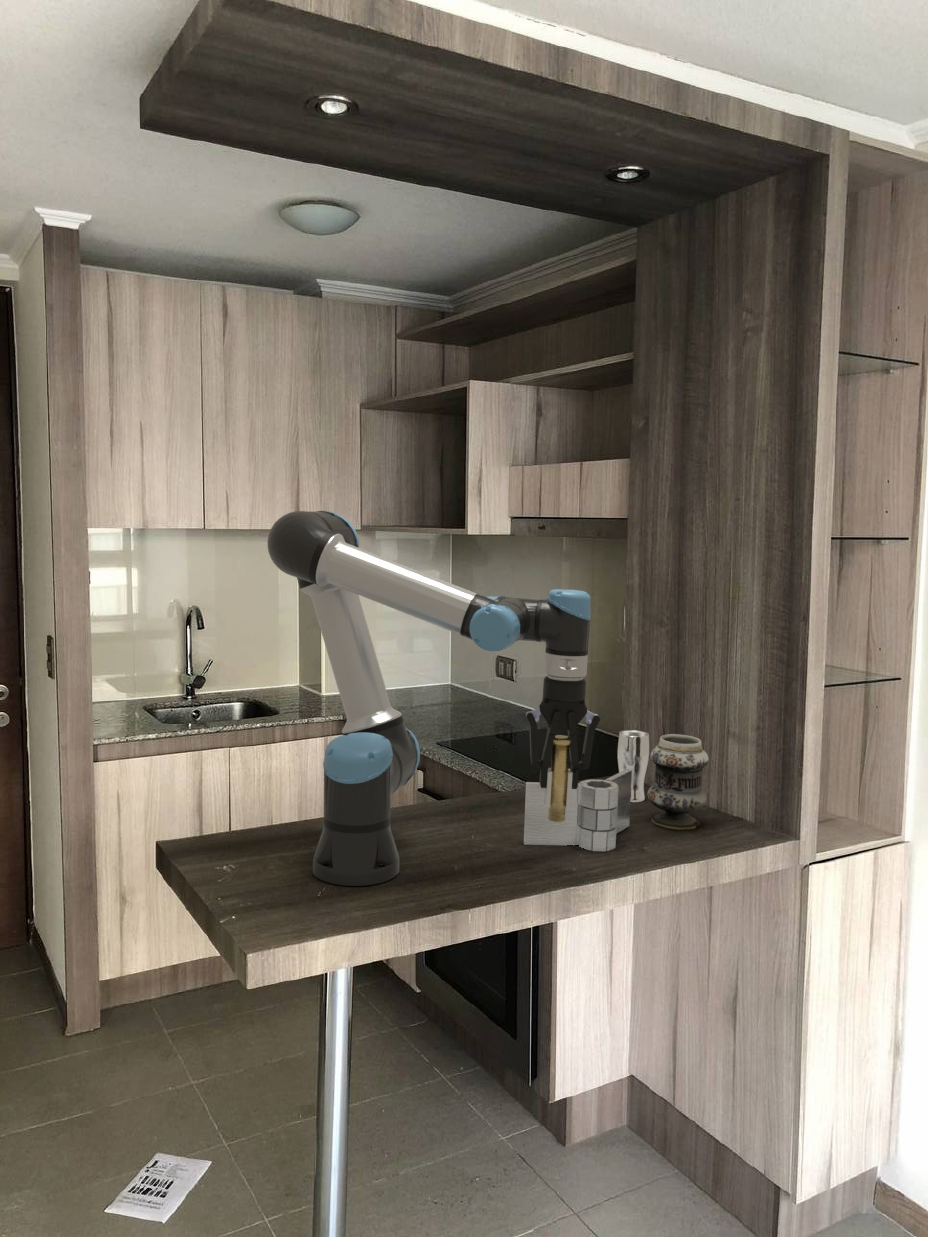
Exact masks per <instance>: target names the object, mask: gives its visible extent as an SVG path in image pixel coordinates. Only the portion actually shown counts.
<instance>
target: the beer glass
mask: <svg viewBox="0 0 928 1237" xmlns="http://www.w3.org/2000/svg"><path fill="white" fill-rule="evenodd" d="M649 736H650V734H649V732H646V731H642V730H633V729H632V730H629V729H628V730H626V729H625V730H621V731H619V736H618V743H617V764H618V773H620V772H622V771H624V770H626V769H627V770H632V778H631V798H630V803H642V802H643V801H645V798H646V797H645V789H644V788H645V787H644V785H645V776H646V772H647V767H648V764H649V760H650V759H649V757H650V737H649Z"/></svg>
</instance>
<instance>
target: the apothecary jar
mask: <svg viewBox="0 0 928 1237" xmlns="http://www.w3.org/2000/svg"><path fill="white" fill-rule="evenodd" d="M708 755H709V754H707V752H706V751H705V750H704V749H703V746H702V740H701V739H700V738H698V737H695V736H692V735H687V734H678V733H670V734H669V733H668V734H664V735H661V736H660V738H659V742H658V744H657V745H656V746H654V747H653V749H651V752H650V759H651V761H652V762H653V763H654V764H655V774H654V780H653V781H654V782H653V784H652V785H650V787H649V788H648V790H647V798H648V800H649V802H650V803H651V804H652V805H653V806H655V807H656V808H658V809H660V810H662V811H663V812H661V813H657V814H654V815H653V816H652V817H651V822H652V823H653V824H654V825H656V826H658V827H661V828H665V829H669V830H675V831H676V830H680V831H684V830H685V831H687V830H688V831H689V830H694V829H696V828H697V826H700V821H699V820H698V819H697V818H695V817H693V816H691V815H689V814H688V813H693V812H696V811H699V810H701V809H702V808H703V807H704V805H706V802H707V795H706V792H704V790H703V789H702V775H703V774H702V773H703V769H704V768H706V766H707V765H708V763H709V756H708Z"/></svg>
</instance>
